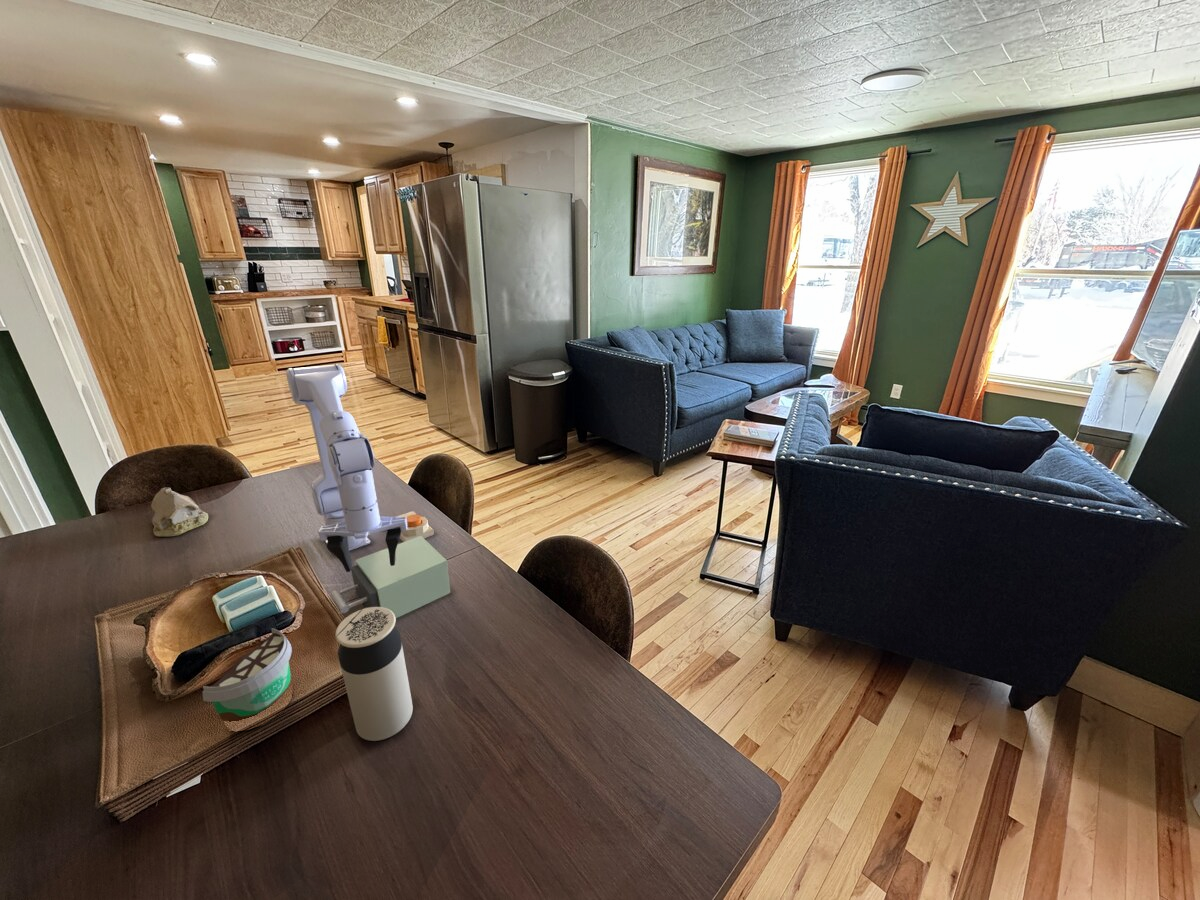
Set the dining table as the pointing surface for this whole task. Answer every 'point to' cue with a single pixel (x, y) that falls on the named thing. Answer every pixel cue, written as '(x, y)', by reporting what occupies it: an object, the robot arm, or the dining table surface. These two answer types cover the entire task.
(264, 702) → the food container
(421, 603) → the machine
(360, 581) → the compartment
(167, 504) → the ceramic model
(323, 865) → the dining table surface
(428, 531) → the control block
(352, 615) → the travel mug
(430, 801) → the dining table surface
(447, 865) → the dining table surface
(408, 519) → the button
